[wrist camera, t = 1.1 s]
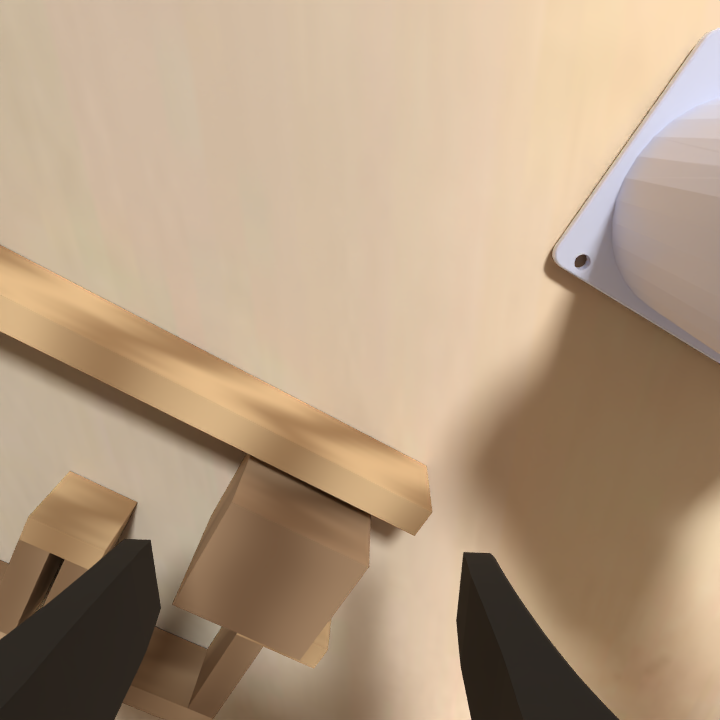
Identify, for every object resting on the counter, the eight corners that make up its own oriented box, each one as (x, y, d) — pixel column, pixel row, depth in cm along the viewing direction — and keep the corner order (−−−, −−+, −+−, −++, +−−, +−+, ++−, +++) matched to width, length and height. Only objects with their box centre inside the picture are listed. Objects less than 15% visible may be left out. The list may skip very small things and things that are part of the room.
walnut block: (371, 480, 24) (369, 566, 19) (315, 562, 25) (299, 660, 21) (262, 425, 23) (231, 501, 18) (211, 514, 24) (171, 604, 20)
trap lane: (426, 465, 23) (433, 519, 20) (262, 692, 28) (247, 763, 25) (-171, 156, 19) (-279, 162, 16) (-232, 482, 25) (-323, 534, 21)
